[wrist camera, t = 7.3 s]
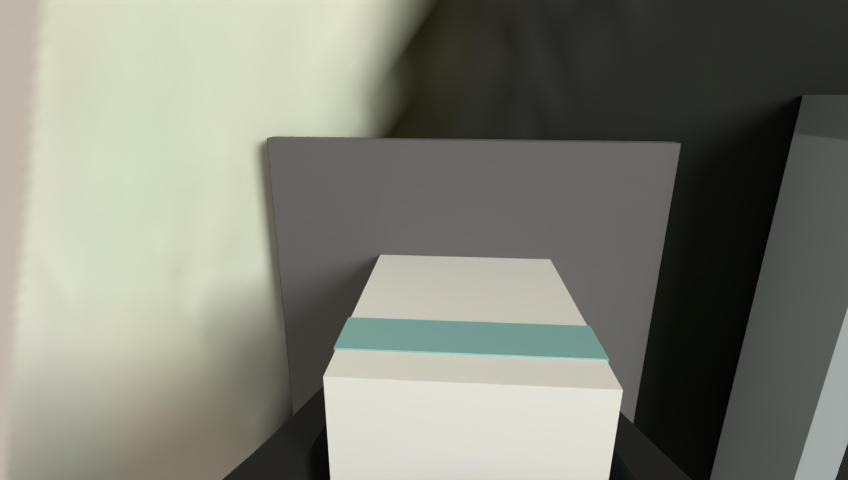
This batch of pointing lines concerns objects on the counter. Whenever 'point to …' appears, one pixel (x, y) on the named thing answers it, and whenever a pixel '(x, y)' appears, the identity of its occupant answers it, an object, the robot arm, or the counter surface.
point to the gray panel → (470, 228)
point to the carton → (469, 376)
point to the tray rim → (797, 319)
